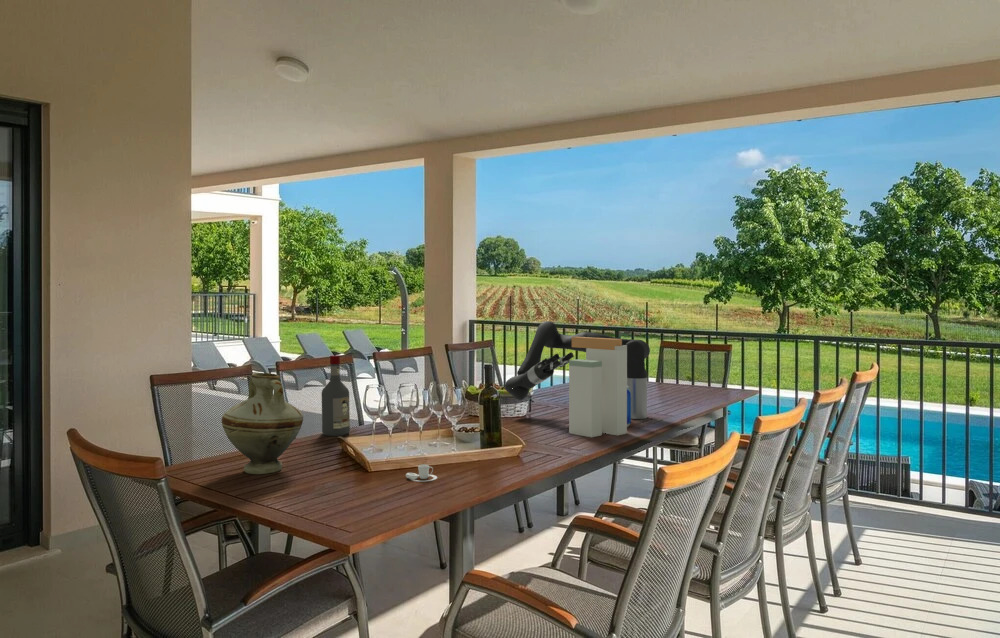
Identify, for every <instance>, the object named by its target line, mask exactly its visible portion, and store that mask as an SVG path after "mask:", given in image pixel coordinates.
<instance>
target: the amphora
mask: <svg viewBox="0 0 1000 638" xmlns="http://www.w3.org/2000/svg"><path fill="white" fill-rule="evenodd" d="M280 378H281V376H280V375H279V374H276V373H270V372H268V373H267V372H255V373H252V374H250V380H249V382H248V397H247V399H246V400H243V401H241V402H239V403H237V404H235V405H233V406H232V407H230V408H229V409H228V410H226V411H225V412H224V413H223V414H222V417H221V424H222V425H221V426H222V429H223V431H224V433H225V435H226V437H227V439H228V440H229V442H230V443H231V444H232V445H233V446H234V447H235V449H237V451H239V452H240V453H241V454H242V455H243V456H244V457H246V458H248V460H250V462H247V463H246V464H245V465H244V466H243V471H244V472H245V473H246V474H249V475H250V474H251V475H266V474H273V473H277V472H279V471H281V470H282V469H283V463H282V462H281V461H280V460H278V459H279V457H281V456H282V455H283V454H284V453H285V451H286V450H287V449H288V448H289V447H290V445H291V444H292V443H293V442H294V441H295V439H296V438H297V436H298V434H299V432H300V430H301V429H302V425H303V421H304V414H303V412H302V411H301V410H300V409H299V408H297V407H296V406H294V405H292V404H291V403H289V402H287V401H285V399H284V387H283V384H282V382H281V381H280Z"/></svg>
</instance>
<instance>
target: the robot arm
mask: <svg viewBox="0 0 1000 638" xmlns="http://www.w3.org/2000/svg"><path fill="white" fill-rule="evenodd" d="M572 337H592V338H610V339H622V345H627V386H629V387H628V388H629V389H630V391H631V420H632V419H634V420H644V419H647V418H648V371H647V369H646V367H645V366H646V364H645V360H646V358H648V357H649V355H650V353H651V349H650V346H649V345H648V343H647V342H645V341H644V340H642V339H628V338H619V337H614V336H611V335H606V334H603V333H599V332H593V331H583V332H579V333H576V334H573V335H572V334H571V335H568V334H563V333H559V330H558V328H557V326H556V324H555V323H554V322H553V321H550V320H547V321H543V322H542V323H540V324H538V327H537V329H536V331H535V334H534V337H533V339H532V342H531V345H530V347H529V349H528V351H527V354H526V356H525V358H524V360H523V361H522V363H521V364H520V366H519V368H518V369H517V372H516V374H517V375H514V376H512V377H510V378H509V379H508V380H506V381H505V383H504V389H505V391H506V392H508V393H509V394H510V395H511V396H512V397H514V398H515V399H516V400H517V401H523V400H525V399H526V397H527V396H528V394H529V392H530V390H531V389H532V388H534V387H536V386H537V385H539V384H541V383H543V382H544V381H545V380H547V379H549V378H550V377H552V376H553V375H554V372H555V370H556V369H559V368H563V367H565V366H566V365H567V364H568V365H569V360H572V358H574V357H575V356H574V353H573V352H572V351H577V352H583V353H586V348H577V347H572ZM544 348H549V349H560V350H562V349H563V350H571V352H569V353H566V354H565V355H563V356H562V357H561V356H560V354H559V353H555V354H553V356H551V357H548V358H544V359H542V360H541V358H542V353H543V351H544ZM512 388H513V389H512Z"/></svg>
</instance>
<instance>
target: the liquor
mask: <svg viewBox="0 0 1000 638" xmlns="http://www.w3.org/2000/svg"><path fill="white" fill-rule="evenodd" d="M340 361H341V359H340V355H330V356H329V364H330V378H329V382H327V384H326V385H325V386H324V387H323V388H322V390H321V432H322V435H324V436H326V437H327V436H330V437H342V436H344V435H348V434H349V433H350V432H351V429H350V428H351V427H350V425H351V420H350V419H351V417H350V391H349V389H348V387H347V386H346V385H345V384H344V383H343V382H342V381H341V374H340V364H341V362H340Z"/></svg>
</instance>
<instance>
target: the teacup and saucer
mask: <svg viewBox="0 0 1000 638" xmlns="http://www.w3.org/2000/svg"><path fill="white" fill-rule="evenodd" d="M417 467H418V473H414V472H407V473H406V474H405V477H406V479H408V480H410V481H413V482H421V483H422V482H433V481H435V480H437V479H438V476H437V475H435V474H433V471H434V467H432V466H430V465H429V464H425V463H423V464H419V465H418V466H417ZM430 469H432V470H431V472H430ZM429 472H430V473H429ZM429 477H432V479H431V478H430V479H428V478H429ZM418 478H419V479H421V480H418ZM427 479H428V480H427Z"/></svg>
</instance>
